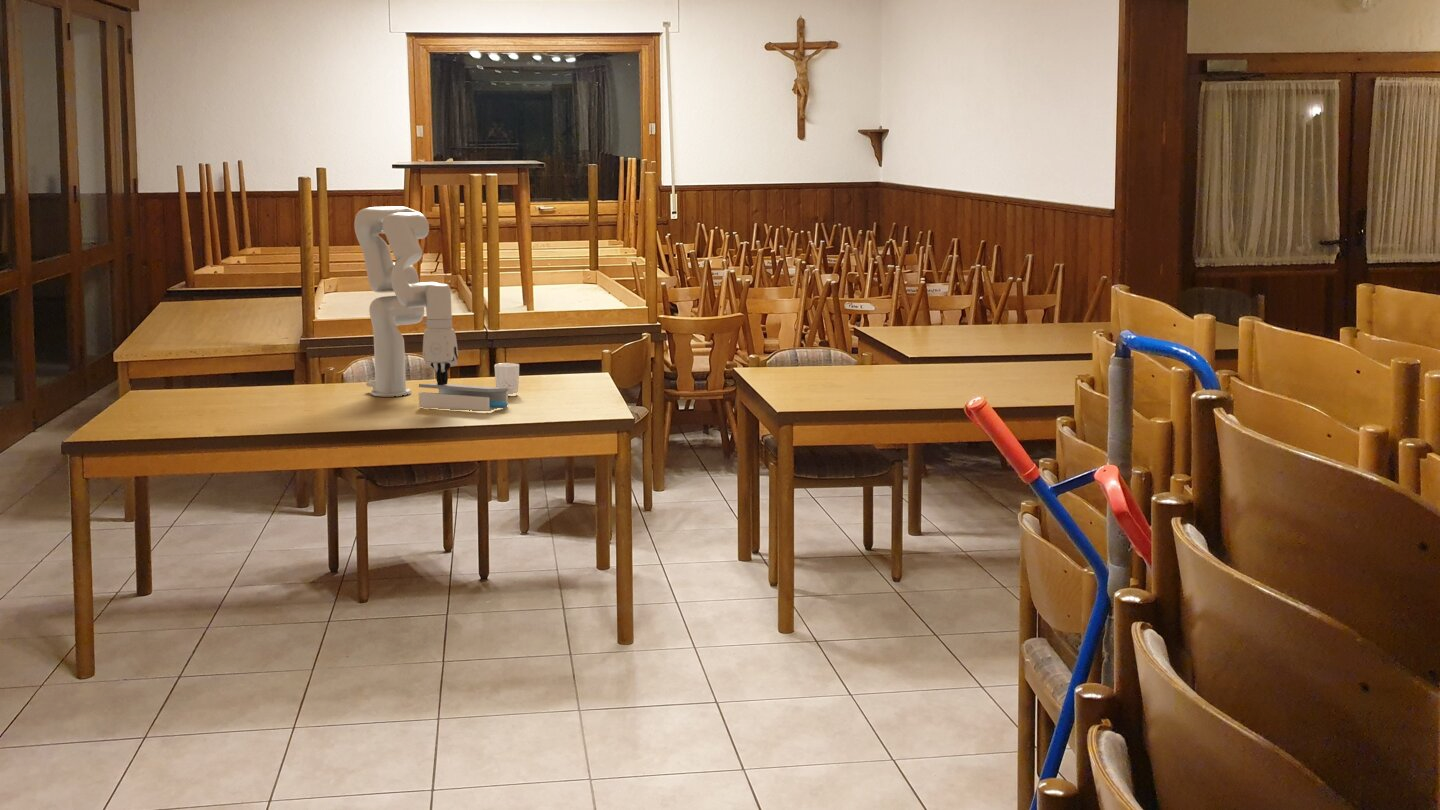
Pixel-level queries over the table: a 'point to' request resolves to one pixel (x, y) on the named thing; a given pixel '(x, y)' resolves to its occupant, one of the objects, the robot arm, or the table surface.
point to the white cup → (507, 376)
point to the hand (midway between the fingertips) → (442, 384)
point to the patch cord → (498, 404)
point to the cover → (464, 387)
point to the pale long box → (461, 400)
